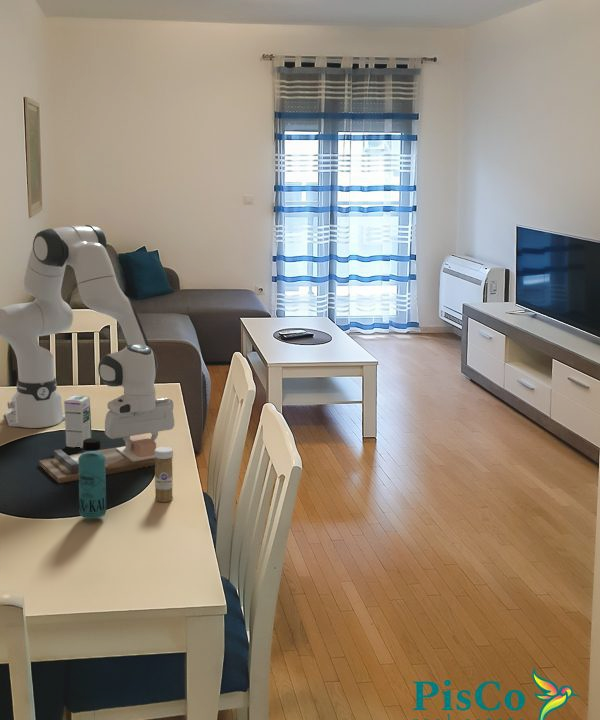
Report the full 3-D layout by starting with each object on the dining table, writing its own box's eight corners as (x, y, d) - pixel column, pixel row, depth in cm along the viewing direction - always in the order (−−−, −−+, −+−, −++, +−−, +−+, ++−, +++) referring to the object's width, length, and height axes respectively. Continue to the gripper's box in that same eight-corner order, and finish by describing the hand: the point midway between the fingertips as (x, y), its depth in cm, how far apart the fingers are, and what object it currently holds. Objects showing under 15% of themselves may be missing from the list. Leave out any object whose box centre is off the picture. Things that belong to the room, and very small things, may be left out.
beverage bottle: (81, 514, 219) (78, 435, 215) (109, 513, 220) (107, 435, 215) (77, 524, 213) (74, 443, 209) (105, 524, 214) (103, 443, 209)
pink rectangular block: (116, 449, 262) (115, 436, 261) (141, 445, 266) (141, 432, 265) (133, 461, 252) (132, 448, 251) (159, 457, 257) (159, 443, 256)
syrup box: (84, 448, 267) (82, 401, 264) (65, 446, 268) (63, 399, 265) (92, 442, 272) (90, 396, 269) (73, 441, 273) (72, 394, 270)
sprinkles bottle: (157, 503, 227) (157, 452, 224) (152, 497, 231) (152, 447, 228) (175, 501, 229) (175, 450, 226) (170, 495, 233) (169, 445, 230)
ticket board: (39, 465, 252) (38, 451, 251) (132, 449, 267) (132, 436, 266) (58, 483, 239) (58, 469, 238) (156, 465, 254) (155, 451, 253)
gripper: (168, 394, 265) (168, 439, 268) (101, 403, 253) (103, 450, 256) (178, 399, 259) (178, 445, 263) (110, 409, 248) (111, 457, 251)
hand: (140, 448), depth 259 cm, fingers closed on pink rectangular block, 5 cm apart
